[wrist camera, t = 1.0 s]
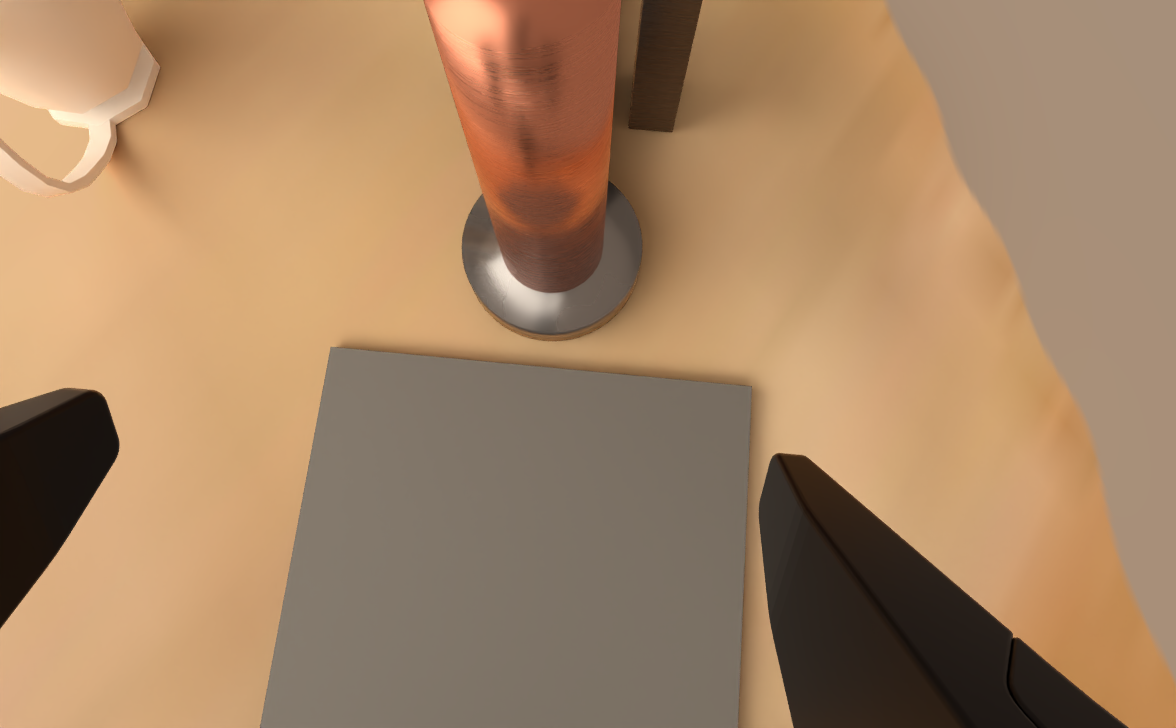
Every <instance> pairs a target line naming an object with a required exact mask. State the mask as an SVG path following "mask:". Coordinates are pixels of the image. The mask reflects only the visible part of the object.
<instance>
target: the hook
mask: <svg viewBox="0 0 1176 728" xmlns="http://www.w3.org/2000/svg"><path fill="white" fill-rule="evenodd" d="M424 4H425V7H426V10H427V13H428V17H429V20H430V23H431V26H432V30H433V33H434V36H435V39H436V43H437V46H438V49H439V52H440V56H441V59H442V62H443V65H444V69H445V72H446V75H447V78H448V82H449V85H450V88H451V91H452V95H453V98H454V101H455V104H456V108H457V111H458V114H459V118H460V121H461V124H462V127H463V131H464V134H465V137H466V140H467V144H468V147H469V150H470V153H471V157H472V160H473V163H474V166H475V170H476V173H477V176H478V179H479V183H480V186H481V189H482V192H483V194H482V195H481V196H480V198H479V199H478V200H477V202H476V203H475V205H474V206H473V208H472V210H471V212H470V214H469V216H468V219H467V221H466V224H465V228H464V232H463V237H462V259H463V263H464V268H465V271H466V274H467V277H468V280H469V282H470V284H471V286H472V288H473V290H474V292H475V294H476V296H477V298H478V300H479V302H480V303H481V304H482V306H483V307H484V309H485V310H486V311H487V312H488V313H489V314H490V315H491V316H492V317H493V318H494V319H495V320H496V321H497V322H499V323H500V324H501V325H502V326H504V327H506V328H507V329H509V330H511V331H513V332H515V333H517V334H519V335H522V336H525V337H528V338H532V339H537V340H543V341H561V340H569V339H574V338H578V337H581V336H584V335H586V334H589V333H591V332H593V331H595V330H597V329H599V328H600V327H602V326H603V325H605V324H606V323H608V322H609V321H610V320H611V319H612V318H613V317H615V316H616V315H617V314H618V312H619V311H620V310H621V309H622V308H623V307H624V305H625V304H626V302H627V301H628V299H629V297H630V295H631V293H632V291H633V289H634V287H635V283H636V280H637V277H638V272H639V268H640V263H641V257H642V236H641V230H640V226H639V222H638V219H637V217H636V215H635V212H634V210H633V208H632V207H631V205H630V203H629V202H628V200H627V199H626V198H625V196H624V195H623V194H622V193H621V191H619V190H618V189H617V188H616V187H615V186H614V185H613V184H612V183H611V182H609V181H608V175H609V161H610V147H611V134H612V120H613V106H614V92H615V79H616V65H617V51H618V38H619V24H620V10H621V0H424Z"/></svg>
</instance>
